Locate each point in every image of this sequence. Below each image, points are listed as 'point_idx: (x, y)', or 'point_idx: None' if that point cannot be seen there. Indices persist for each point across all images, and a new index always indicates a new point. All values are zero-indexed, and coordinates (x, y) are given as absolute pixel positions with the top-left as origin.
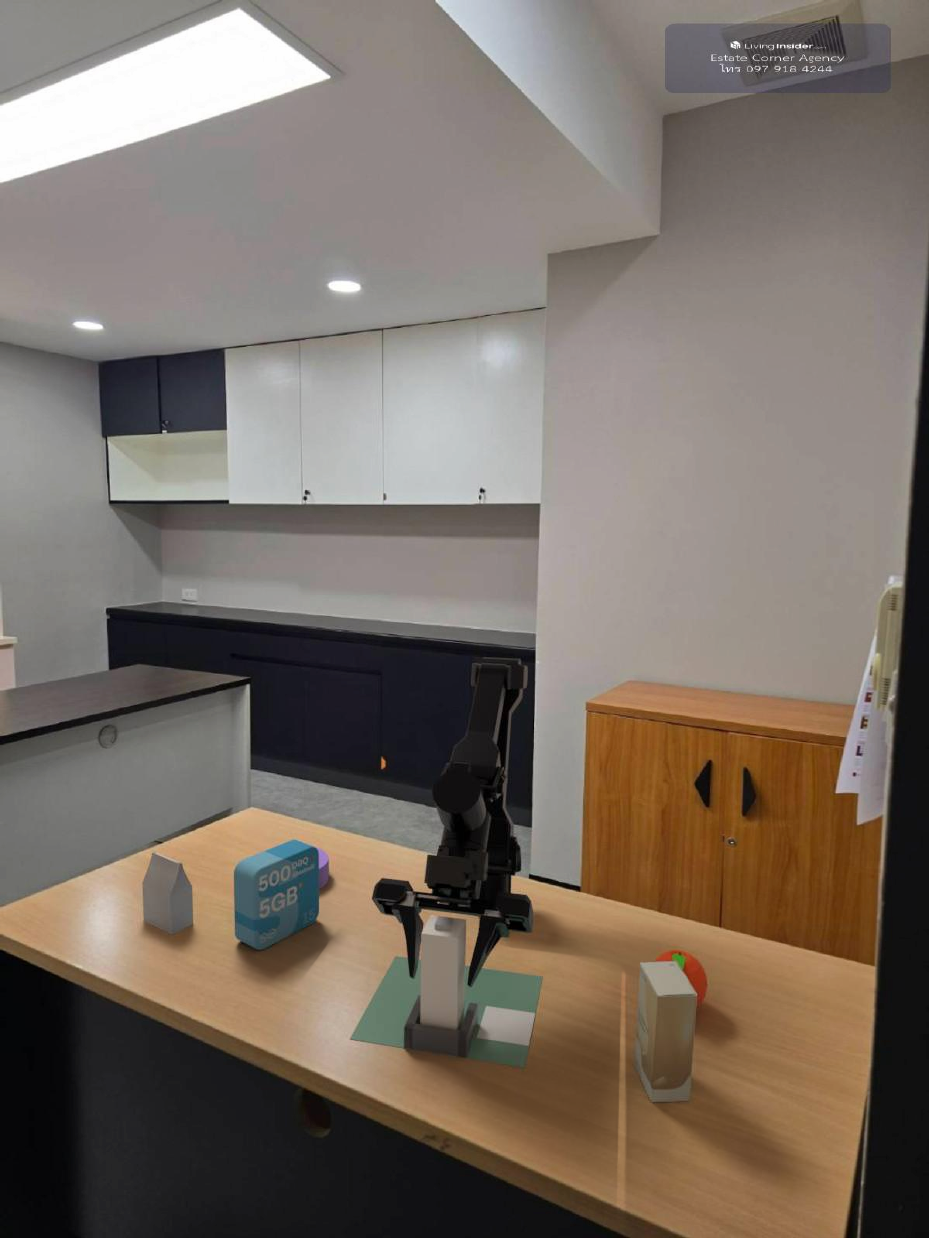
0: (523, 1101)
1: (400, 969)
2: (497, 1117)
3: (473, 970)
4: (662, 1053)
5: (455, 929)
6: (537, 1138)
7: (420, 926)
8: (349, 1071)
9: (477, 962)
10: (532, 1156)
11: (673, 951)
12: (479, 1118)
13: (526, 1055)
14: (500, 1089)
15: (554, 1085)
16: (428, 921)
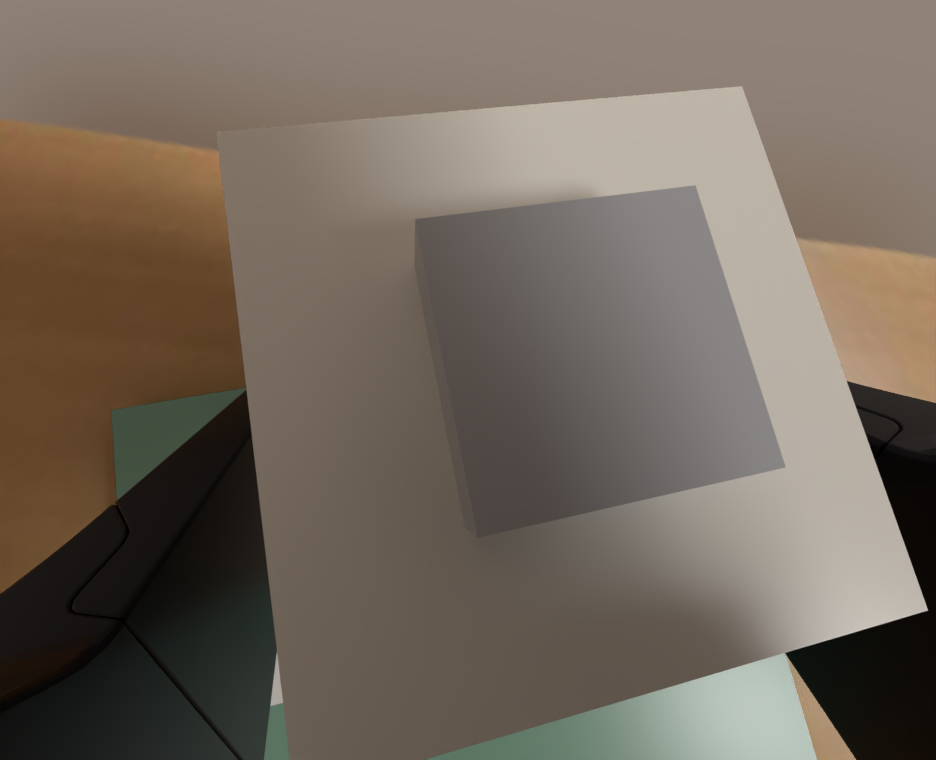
0: (110, 314)
1: (767, 752)
2: (172, 234)
3: (228, 416)
4: None
5: (355, 351)
6: (42, 204)
7: (872, 662)
8: None
9: (183, 449)
10: (47, 149)
11: None
12: (221, 215)
13: (117, 471)
14: (192, 333)
15: (19, 414)
16: (837, 396)
